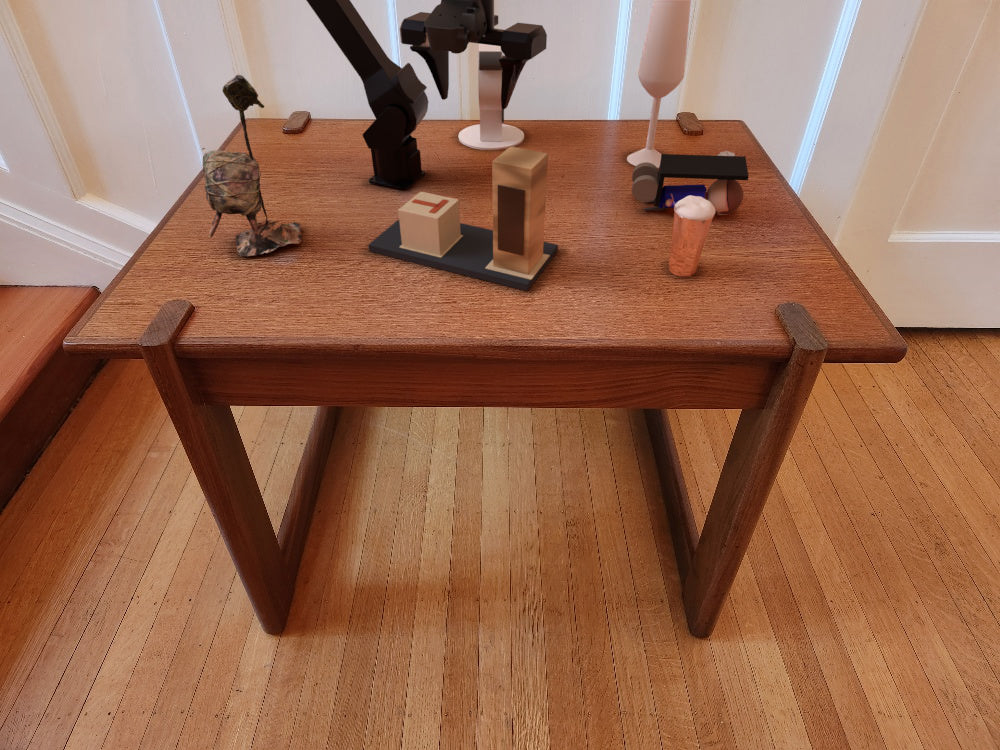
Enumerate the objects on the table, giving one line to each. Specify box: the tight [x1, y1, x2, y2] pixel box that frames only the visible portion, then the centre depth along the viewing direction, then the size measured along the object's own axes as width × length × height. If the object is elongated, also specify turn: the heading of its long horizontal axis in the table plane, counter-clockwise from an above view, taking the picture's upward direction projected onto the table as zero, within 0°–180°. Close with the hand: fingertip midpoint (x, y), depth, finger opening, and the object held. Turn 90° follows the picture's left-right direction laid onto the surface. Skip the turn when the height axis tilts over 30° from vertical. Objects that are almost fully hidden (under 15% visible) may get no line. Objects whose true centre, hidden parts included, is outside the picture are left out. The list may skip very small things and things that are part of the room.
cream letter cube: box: [397, 191, 461, 255], centre depth 80 cm, size 6×6×5 cm
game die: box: [716, 150, 736, 156], centre depth 99 cm, size 4×4×3 cm
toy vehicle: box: [631, 153, 750, 216], centre depth 88 cm, size 7×8×15 cm
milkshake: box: [668, 194, 716, 277], centre depth 75 cm, size 5×5×10 cm
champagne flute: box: [626, 0, 692, 169], centre depth 95 cm, size 7×7×24 cm
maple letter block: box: [491, 146, 549, 275], centre depth 73 cm, size 5×5×13 cm
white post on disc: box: [457, 35, 525, 151], centre depth 105 cm, size 12×11×15 cm
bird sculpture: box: [201, 74, 304, 258], centre depth 77 cm, size 8×11×20 cm
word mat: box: [367, 219, 559, 292], centre depth 81 cm, size 22×10×1 cm, turn 65°
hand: (474, 103), depth 88 cm, fingers open, 9 cm apart
